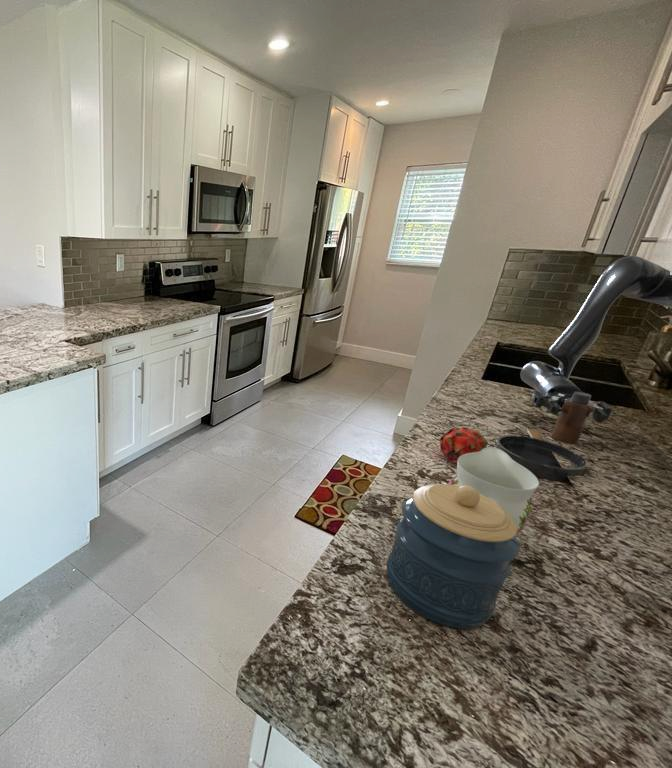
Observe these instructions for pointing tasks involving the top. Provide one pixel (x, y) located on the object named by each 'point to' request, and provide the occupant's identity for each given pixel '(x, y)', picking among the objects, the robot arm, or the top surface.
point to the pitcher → (498, 481)
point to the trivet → (537, 435)
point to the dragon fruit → (461, 443)
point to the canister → (452, 555)
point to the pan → (540, 456)
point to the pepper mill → (572, 418)
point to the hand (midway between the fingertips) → (579, 414)
